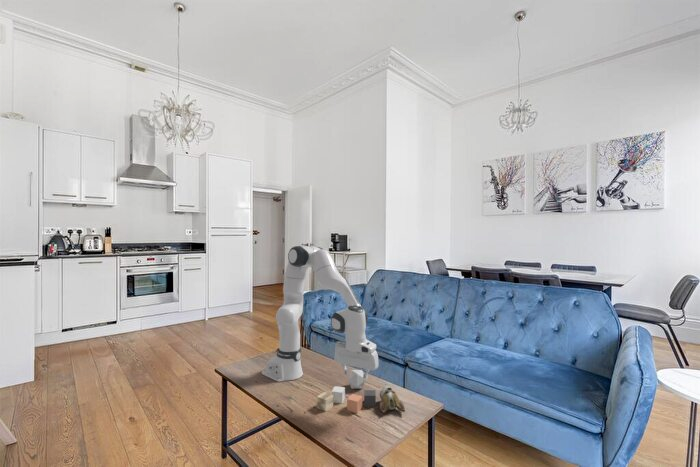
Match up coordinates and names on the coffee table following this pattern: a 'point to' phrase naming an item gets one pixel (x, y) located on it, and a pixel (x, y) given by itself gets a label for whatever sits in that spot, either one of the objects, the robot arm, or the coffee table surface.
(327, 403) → the birch cube
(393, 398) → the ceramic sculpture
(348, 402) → the terracotta cube
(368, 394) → the black cube
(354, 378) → the die
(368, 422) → the coffee table surface
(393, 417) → the coffee table surface
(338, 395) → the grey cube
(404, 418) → the coffee table surface
